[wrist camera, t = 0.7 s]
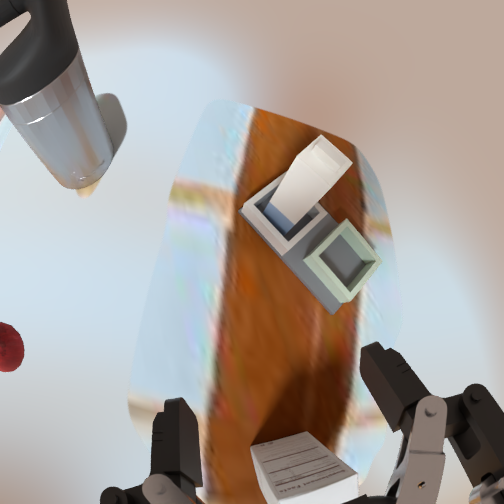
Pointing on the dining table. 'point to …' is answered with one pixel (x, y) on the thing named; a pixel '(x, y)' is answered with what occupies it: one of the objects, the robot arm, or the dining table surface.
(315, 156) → the milk carton
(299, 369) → the dining table surface
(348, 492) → the supplement box
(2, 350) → the onion
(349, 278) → the double bin tray
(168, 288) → the dining table surface
